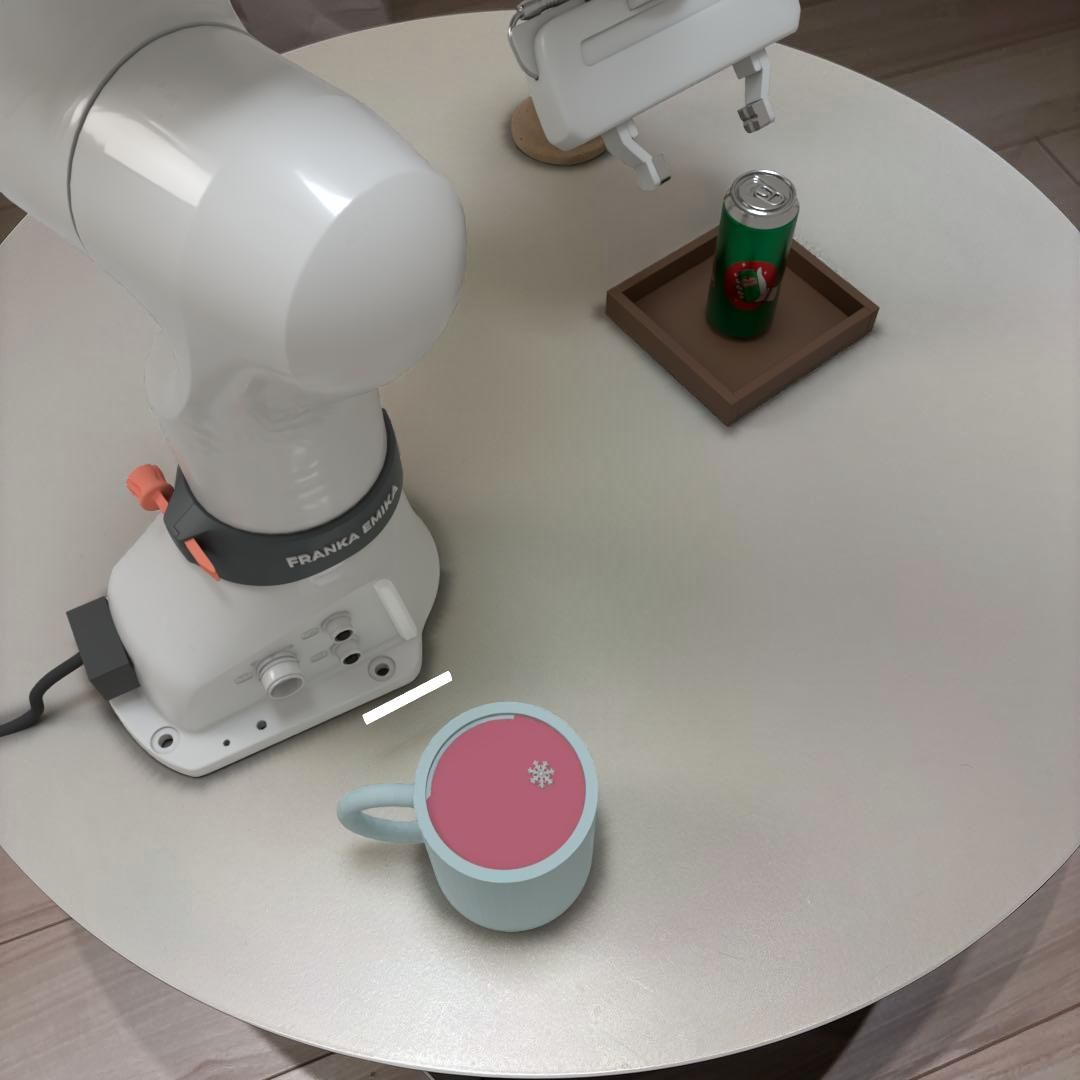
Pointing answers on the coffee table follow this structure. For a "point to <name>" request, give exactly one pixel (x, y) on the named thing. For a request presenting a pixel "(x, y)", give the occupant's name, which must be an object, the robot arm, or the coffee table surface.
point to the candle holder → (538, 146)
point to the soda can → (751, 253)
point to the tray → (738, 363)
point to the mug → (496, 814)
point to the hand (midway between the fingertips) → (711, 156)
